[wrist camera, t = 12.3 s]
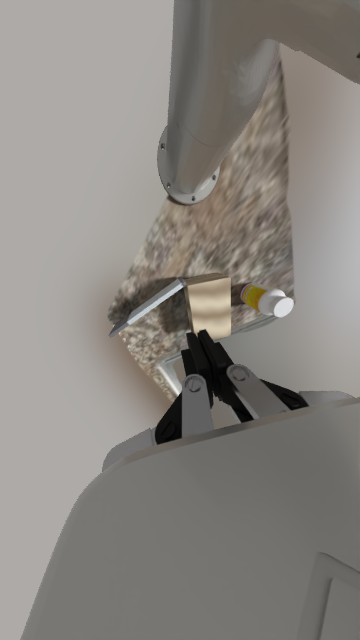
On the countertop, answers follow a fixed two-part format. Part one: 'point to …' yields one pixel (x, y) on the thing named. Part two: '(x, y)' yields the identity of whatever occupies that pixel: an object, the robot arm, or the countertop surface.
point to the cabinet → (209, 304)
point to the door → (148, 305)
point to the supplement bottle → (266, 299)
